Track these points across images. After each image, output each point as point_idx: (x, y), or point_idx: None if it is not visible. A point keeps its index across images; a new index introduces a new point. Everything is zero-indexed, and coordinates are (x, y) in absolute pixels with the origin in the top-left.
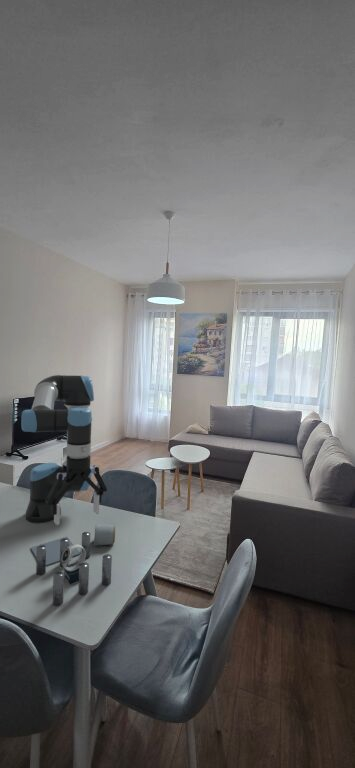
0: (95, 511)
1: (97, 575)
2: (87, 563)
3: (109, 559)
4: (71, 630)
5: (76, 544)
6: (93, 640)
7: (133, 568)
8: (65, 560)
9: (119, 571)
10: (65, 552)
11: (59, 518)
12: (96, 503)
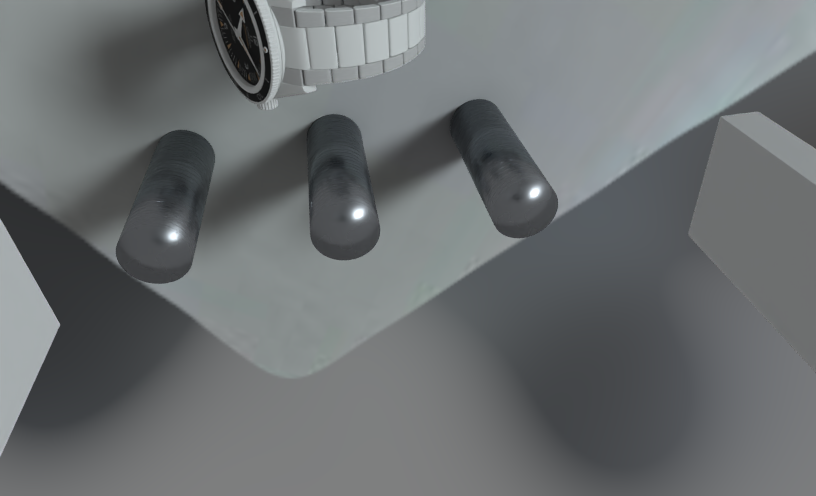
0: (713, 209)
1: (463, 35)
2: (374, 222)
3: (523, 236)
4: (227, 320)
5: (357, 16)
6: (296, 377)
7: (670, 80)
8: (235, 61)
9: (591, 66)
10: (242, 3)
11: (21, 407)
12: (812, 342)
